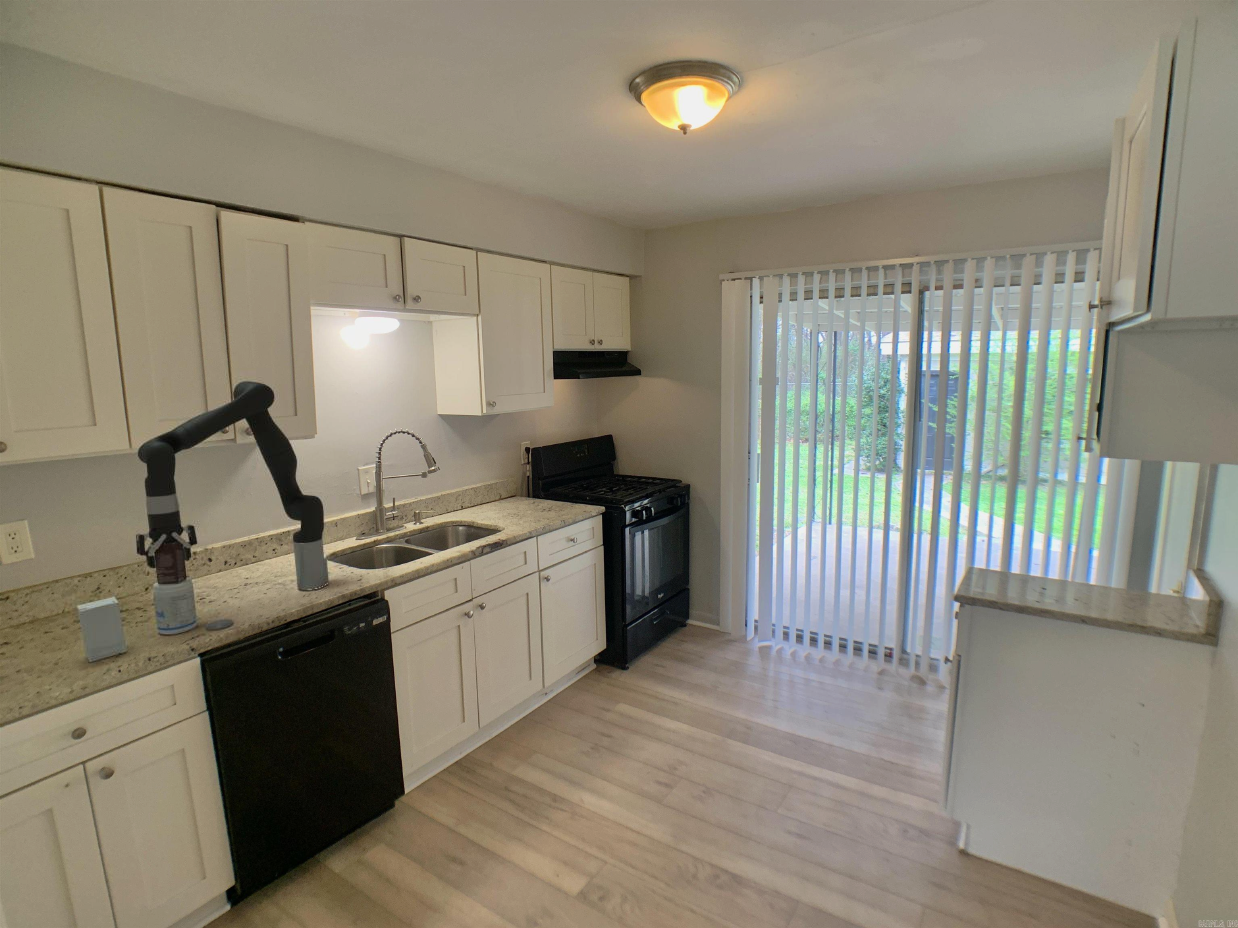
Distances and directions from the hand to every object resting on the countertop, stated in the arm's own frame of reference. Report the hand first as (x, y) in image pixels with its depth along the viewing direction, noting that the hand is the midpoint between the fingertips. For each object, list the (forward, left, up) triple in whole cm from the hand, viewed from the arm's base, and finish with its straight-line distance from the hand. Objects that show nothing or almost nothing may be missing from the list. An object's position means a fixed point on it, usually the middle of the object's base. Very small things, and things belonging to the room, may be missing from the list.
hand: (170, 563), depth 178 cm
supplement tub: (0, 0, -20) cm, 20 cm away
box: (0, 0, -6) cm, 6 cm away
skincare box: (+18, +3, -20) cm, 27 cm away
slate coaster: (-8, +8, -20) cm, 23 cm away
